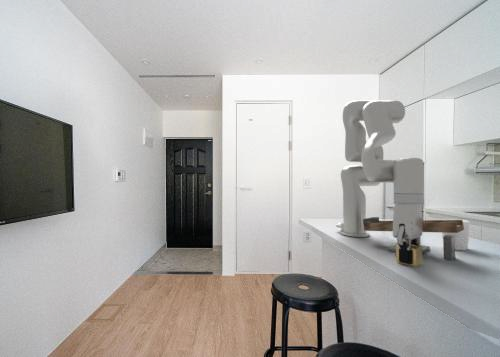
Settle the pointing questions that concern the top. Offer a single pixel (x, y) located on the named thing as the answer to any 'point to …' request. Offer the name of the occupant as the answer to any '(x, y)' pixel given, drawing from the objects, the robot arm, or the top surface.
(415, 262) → the block
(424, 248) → the pivot stand
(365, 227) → the beam
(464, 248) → the white cup
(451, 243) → the block
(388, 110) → the robot arm
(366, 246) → the top surface
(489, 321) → the top surface
